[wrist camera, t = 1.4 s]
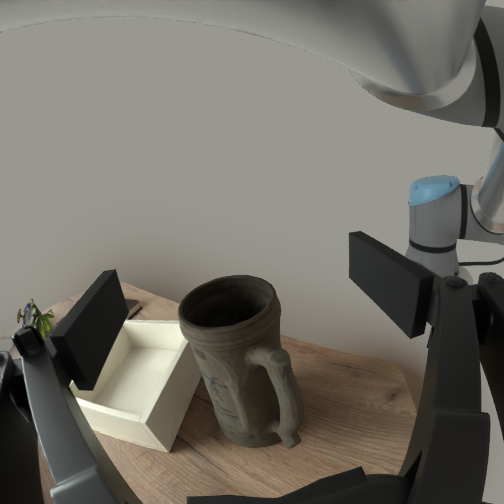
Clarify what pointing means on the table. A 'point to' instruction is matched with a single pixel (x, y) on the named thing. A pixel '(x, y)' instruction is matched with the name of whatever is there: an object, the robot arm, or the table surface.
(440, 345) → the robot arm
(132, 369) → the open storage bin
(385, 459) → the table surface
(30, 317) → the passion flower
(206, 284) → the beer stein
